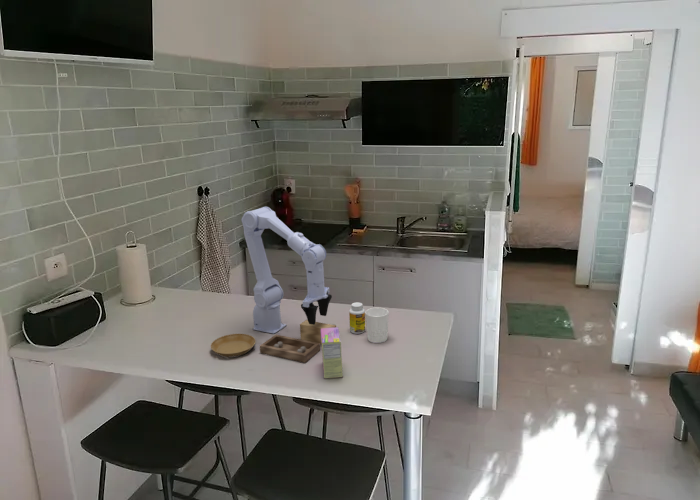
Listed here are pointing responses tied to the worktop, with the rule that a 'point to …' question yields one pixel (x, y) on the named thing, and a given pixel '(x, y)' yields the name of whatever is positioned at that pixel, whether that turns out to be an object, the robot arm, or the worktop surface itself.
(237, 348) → the plant saucer
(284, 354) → the walnut peg frame
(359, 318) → the supplement bottle
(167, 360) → the worktop surface
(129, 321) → the worktop surface
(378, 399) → the worktop surface
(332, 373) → the box
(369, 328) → the white cup
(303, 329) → the wooden block
